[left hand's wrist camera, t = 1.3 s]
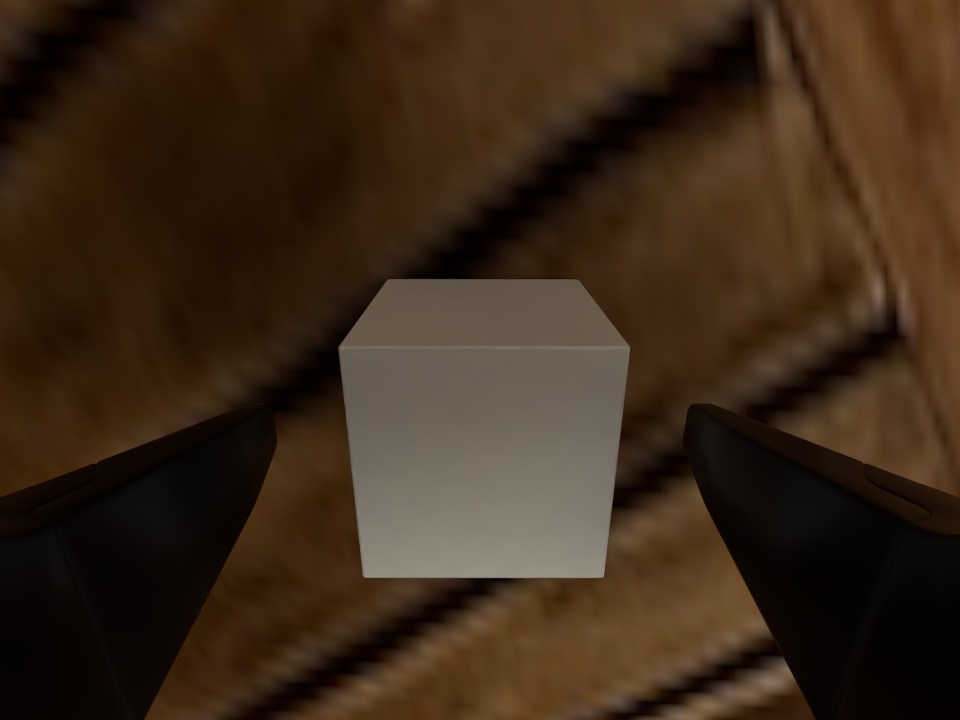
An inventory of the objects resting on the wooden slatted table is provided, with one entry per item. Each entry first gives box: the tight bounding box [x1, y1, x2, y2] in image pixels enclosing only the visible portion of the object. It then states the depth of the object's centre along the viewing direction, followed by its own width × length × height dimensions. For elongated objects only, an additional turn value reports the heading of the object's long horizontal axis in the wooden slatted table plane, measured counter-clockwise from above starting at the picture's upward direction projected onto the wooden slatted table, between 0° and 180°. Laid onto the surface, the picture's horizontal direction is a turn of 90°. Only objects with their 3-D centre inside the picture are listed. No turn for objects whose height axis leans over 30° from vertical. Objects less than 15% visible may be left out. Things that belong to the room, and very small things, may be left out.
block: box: [339, 279, 630, 578], centre depth 12 cm, size 5×5×5 cm
